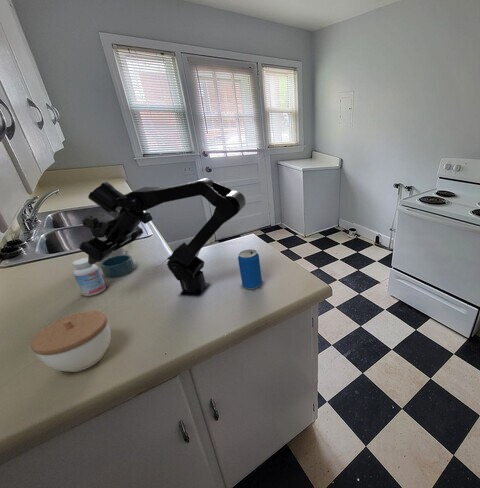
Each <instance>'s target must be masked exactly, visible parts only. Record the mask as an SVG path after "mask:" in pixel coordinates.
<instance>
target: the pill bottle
mask: <svg viewBox="0 0 480 488" xmlns="http://www.w3.org/2000/svg"><path fill="white" fill-rule="evenodd" d="M72 266H73V268H74V269H73V272H72V273H73V276H74V279H75V280H76V282H77V286H78V287H79V290H80V292H81V294H82V295H83V296H86V297H87V296H88V297H92V296H96V295H98V294H100V293H102V292H104V291H105V290H106V288H107V287H106V284H105V281H104V279H103V277H102V274H101V271H100V269H99V266H97V265H96V263H95V264H92V265H91V264H89V263H88V257H82V258H78V259H77V260H74V261H73V262H72Z"/></svg>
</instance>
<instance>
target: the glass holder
mask: <svg viewBox="0 0 480 488" xmlns="http://www.w3.org/2000/svg"><path fill="white" fill-rule="evenodd" d="M89 230H90V233H91V236H92V237H96V238H98V239H99V240H101V241H102V242H103V241H105V240H107V239H106V237H105V235H104V236H103V235H101V234H100V233H99V232H100V231H101V230H97V229H89ZM111 248H112V247H111ZM112 251H113V250H112ZM119 255H127V252H126V251H125V250H124V248H123V247H121V248H119V249H117V250H116V251H113V252H112V253H111V254H110V255H109V256H108V257H107V258H105V259H104V260H106V259H108V258H111V257H114V256H119ZM104 260H101V262H102V261H104Z"/></svg>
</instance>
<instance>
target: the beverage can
mask: <svg viewBox="0 0 480 488" xmlns="http://www.w3.org/2000/svg"><path fill="white" fill-rule="evenodd" d="M237 260H238V267H239V273H240V279H241V280H240V281H241V285H242V287H243V288H245V289H247V290H255V289H258V288H259V287H260V286H261V285H262V284H263V279H262V277H263V276H262V270H261V261H260V255H259V253H258V251H257V250H256V249H249V248H248V249H243V250H242V251H240V252H238V257H237Z"/></svg>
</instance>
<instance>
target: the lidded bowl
mask: <svg viewBox="0 0 480 488" xmlns="http://www.w3.org/2000/svg"><path fill="white" fill-rule="evenodd" d="M111 341H112V332H111V328H110V323H109V322H108V318H107V315H106V314H105V313H104V312H102V311H99V310H86V311H81V312H76V313H72V314H70V315H66V316H64V317H61V318H59V319H57V320H55V321H53V322H51V323H49V324H47V325H46V326H44V327H43V328H41V329H40V330H39V331H38V332H37V333H36V334H35V335H34V336H33V337H32V339H31V341H30V343H29V346H30V349H31V350H32V352H33V353H34V354H35V355H36V356H37V358H38V359H39V360H40V361H41V363H43V364H44V365H45V366H46V367H48V368H50V369H52V370H54V371H59V372H69V373H77V372H82V371H84V370H86V369H89V368H91V367H92V366H94V365H96V364H97V363H99V361H101V360H102V359H103V357H104V356H105V354H106V352H107V351H108V349H109V347H110V343H111Z"/></svg>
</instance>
